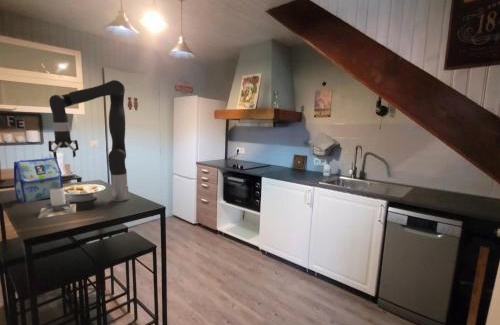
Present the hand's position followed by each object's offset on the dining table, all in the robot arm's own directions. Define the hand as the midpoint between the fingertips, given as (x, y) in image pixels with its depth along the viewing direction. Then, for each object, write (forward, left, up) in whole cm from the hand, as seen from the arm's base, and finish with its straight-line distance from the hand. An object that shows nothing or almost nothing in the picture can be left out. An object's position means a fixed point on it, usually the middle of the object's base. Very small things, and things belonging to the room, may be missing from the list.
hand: (65, 157), depth 151 cm
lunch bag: (+16, -25, -29) cm, 41 cm away
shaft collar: (+5, +14, -27) cm, 31 cm away
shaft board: (+5, +15, -29) cm, 33 cm away
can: (+5, +11, -27) cm, 30 cm away
